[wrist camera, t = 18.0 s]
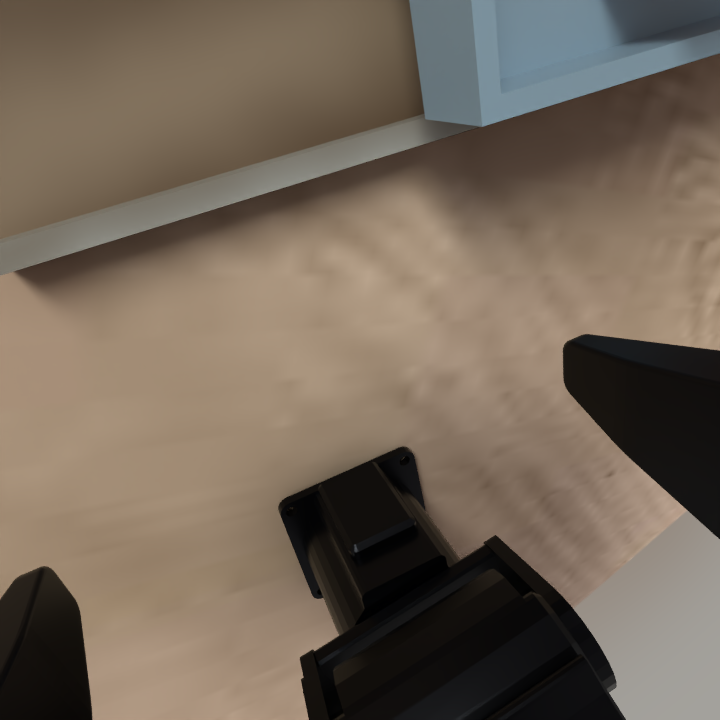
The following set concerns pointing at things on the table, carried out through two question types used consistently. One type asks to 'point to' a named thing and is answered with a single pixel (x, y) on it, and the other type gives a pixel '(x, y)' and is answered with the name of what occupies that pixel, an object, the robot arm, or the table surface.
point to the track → (189, 109)
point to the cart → (548, 50)
